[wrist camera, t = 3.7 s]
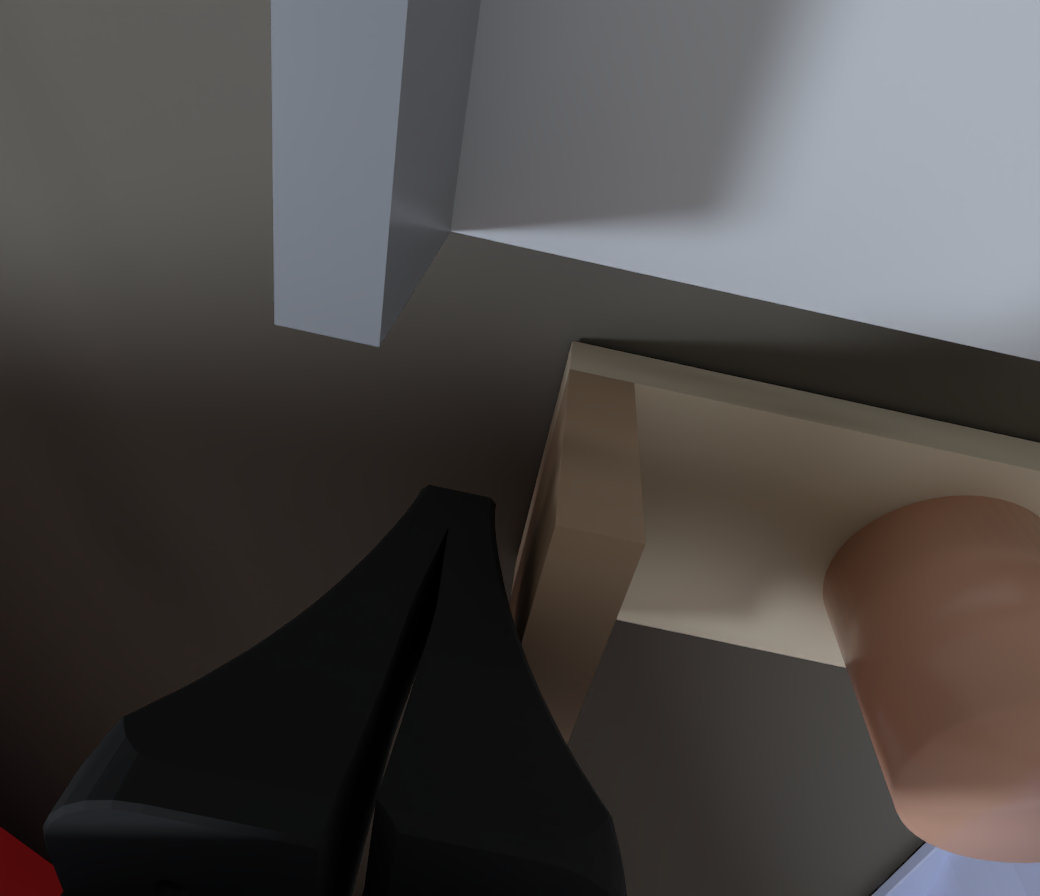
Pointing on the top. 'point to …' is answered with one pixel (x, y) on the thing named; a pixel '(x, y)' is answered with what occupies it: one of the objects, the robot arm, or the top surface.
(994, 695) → the canister
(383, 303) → the pale blue block
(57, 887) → the book
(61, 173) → the top surface
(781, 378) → the top surface
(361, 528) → the top surface
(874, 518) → the tan notched piece
